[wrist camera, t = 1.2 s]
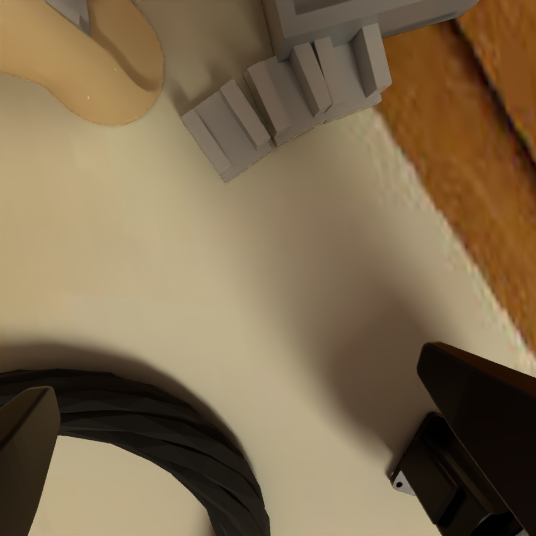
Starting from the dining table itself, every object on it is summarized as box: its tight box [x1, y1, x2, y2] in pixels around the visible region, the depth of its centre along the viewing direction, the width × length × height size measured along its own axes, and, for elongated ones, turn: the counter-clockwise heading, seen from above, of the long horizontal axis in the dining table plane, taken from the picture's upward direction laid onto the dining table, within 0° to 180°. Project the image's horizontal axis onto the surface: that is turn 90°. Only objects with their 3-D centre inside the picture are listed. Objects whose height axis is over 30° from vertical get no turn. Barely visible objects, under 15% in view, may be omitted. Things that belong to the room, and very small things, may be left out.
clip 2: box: [244, 42, 332, 147], centre depth 16 cm, size 4×3×2 cm
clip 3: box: [312, 23, 392, 124], centre depth 16 cm, size 4×3×2 cm
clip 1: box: [180, 79, 272, 183], centre depth 16 cm, size 4×3×2 cm
